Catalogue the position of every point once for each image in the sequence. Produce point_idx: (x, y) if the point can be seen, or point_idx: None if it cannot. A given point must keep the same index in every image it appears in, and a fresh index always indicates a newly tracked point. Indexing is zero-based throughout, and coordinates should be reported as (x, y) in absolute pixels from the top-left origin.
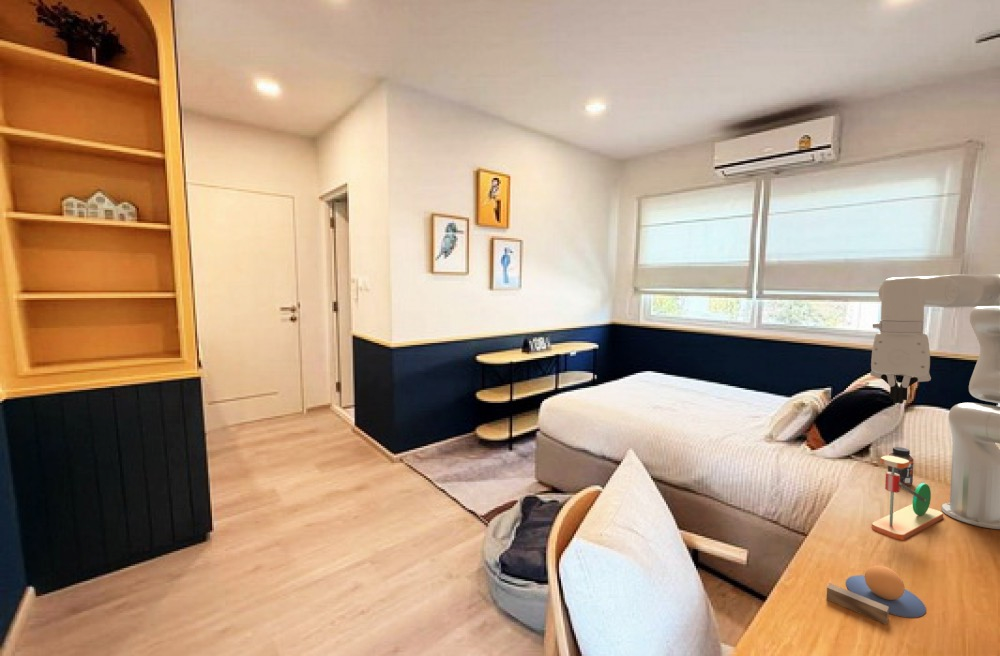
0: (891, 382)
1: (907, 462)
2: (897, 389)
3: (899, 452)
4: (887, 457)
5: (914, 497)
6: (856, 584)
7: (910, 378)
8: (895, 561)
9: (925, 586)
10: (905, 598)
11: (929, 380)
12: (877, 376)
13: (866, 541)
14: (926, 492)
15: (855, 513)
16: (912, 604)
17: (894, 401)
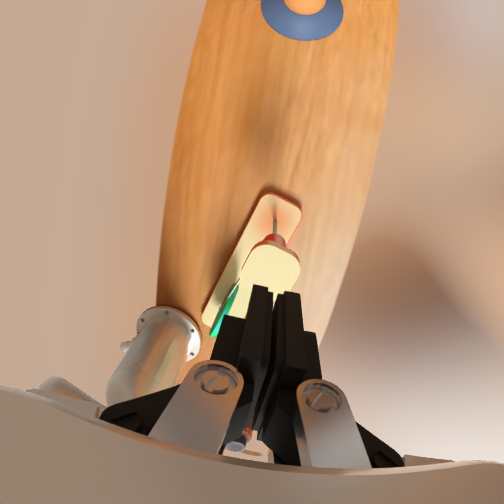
0: (323, 415)
1: (244, 265)
2: (277, 353)
3: (237, 439)
4: (284, 280)
5: (234, 293)
6: (331, 12)
7: (150, 433)
8: (281, 106)
9: (253, 56)
10: (280, 10)
11: (30, 391)
12: (421, 464)
13: (314, 153)
14: (215, 322)
15: (318, 259)
16: (274, 3)
17: (293, 293)
